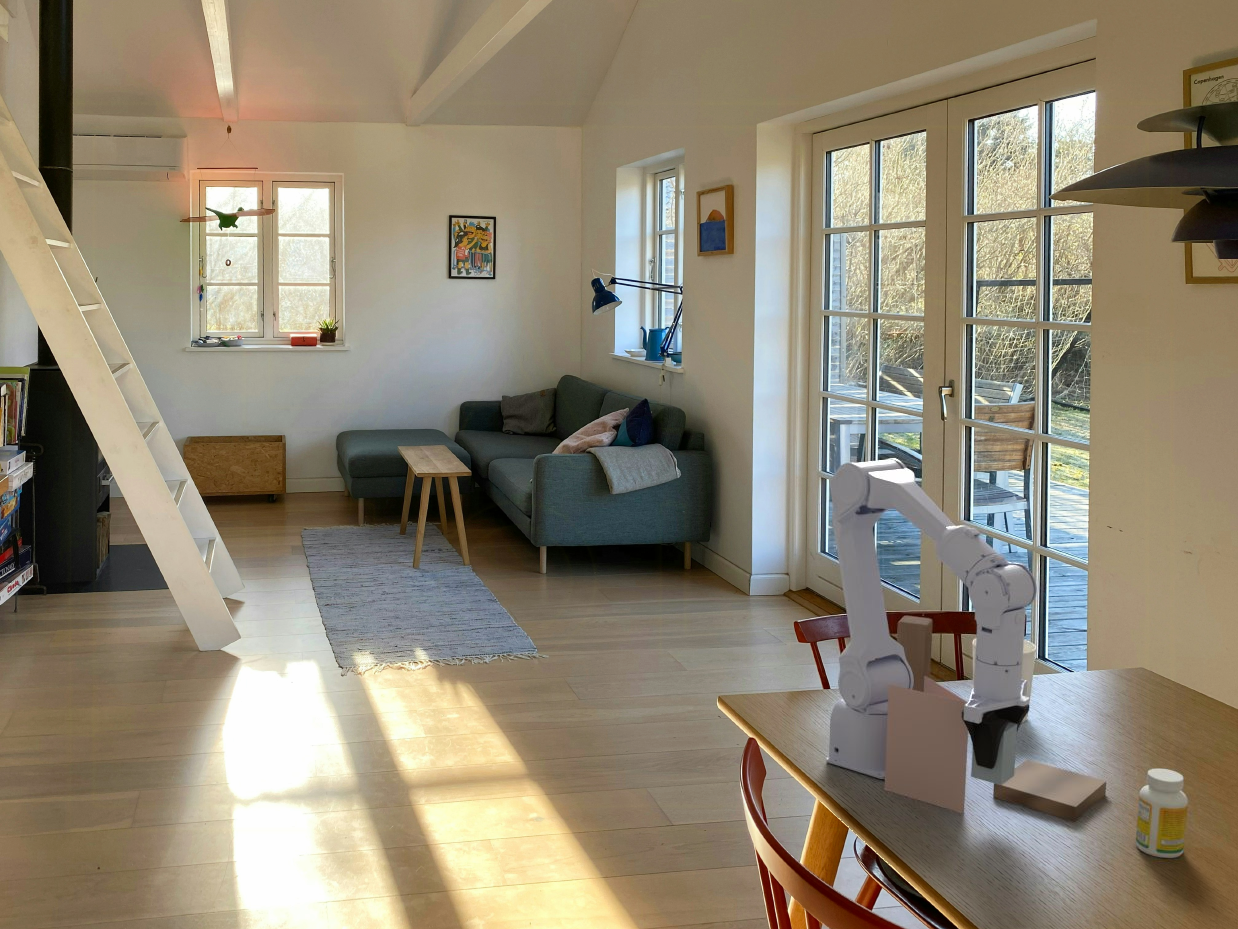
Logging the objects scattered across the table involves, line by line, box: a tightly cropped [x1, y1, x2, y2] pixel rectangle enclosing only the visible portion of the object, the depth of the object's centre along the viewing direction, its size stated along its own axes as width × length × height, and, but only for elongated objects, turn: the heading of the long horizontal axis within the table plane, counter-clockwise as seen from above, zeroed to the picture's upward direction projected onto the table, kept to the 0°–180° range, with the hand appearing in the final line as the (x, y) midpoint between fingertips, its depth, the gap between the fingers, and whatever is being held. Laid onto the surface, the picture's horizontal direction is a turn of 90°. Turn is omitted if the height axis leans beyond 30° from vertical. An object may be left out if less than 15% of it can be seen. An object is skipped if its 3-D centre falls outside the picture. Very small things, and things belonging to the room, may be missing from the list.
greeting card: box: [884, 676, 969, 814], centre depth 155 cm, size 11×7×15 cm, turn 15°
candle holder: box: [971, 637, 1037, 724], centre depth 187 cm, size 10×10×12 cm
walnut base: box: [992, 759, 1107, 822], centre depth 157 cm, size 11×11×2 cm
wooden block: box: [896, 615, 934, 692], centre depth 178 cm, size 9×4×18 cm, turn 64°
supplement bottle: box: [1135, 768, 1189, 859], centre depth 142 cm, size 5×5×10 cm
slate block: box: [970, 722, 1018, 785], centre depth 149 cm, size 4×4×7 cm
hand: (992, 761), depth 149 cm, fingers closed on slate block, 4 cm apart
